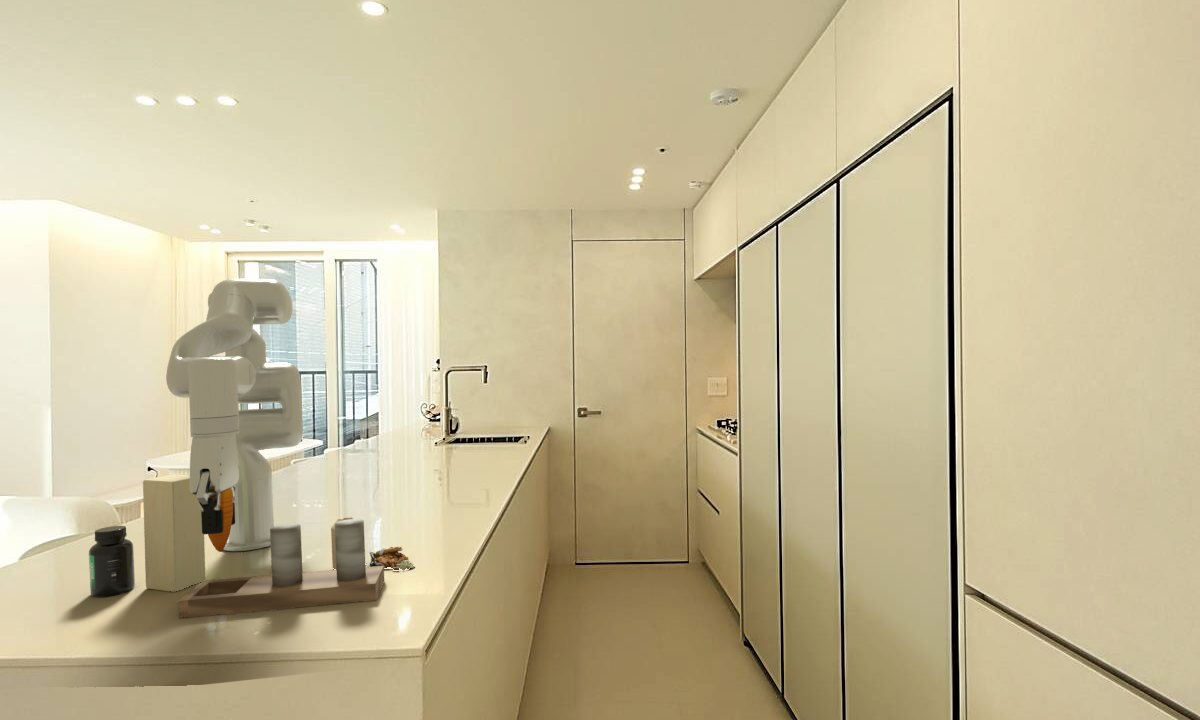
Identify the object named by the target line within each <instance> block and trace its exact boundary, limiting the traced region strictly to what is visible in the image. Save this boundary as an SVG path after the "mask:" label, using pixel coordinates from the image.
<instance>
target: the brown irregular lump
mask: <svg viewBox="0 0 1200 720" xmlns="http://www.w3.org/2000/svg"><path fill="white" fill-rule="evenodd" d="M402 551H403V546H395V547H393V546H390V547H389V548H385V547H382V548H381V549H380V550H377V551H376V552H373V551H369V554H370V555H369V556H370V557H371V559H370V563H369V564H371V565H372V563H374V564H375V566H384V568H387V567H391V568H393V569H394V570H399V568H400V569H402V570H405V569H406V568H407V569H409V568H411V569H413V568H415V567H414V566H413V565H415V564H413V563H412V562H410V560H409V557H408V556H406V555H405V554H404V553H402Z"/></svg>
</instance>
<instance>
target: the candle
mask: <svg viewBox="0 0 1200 720" xmlns="http://www.w3.org/2000/svg"><path fill="white" fill-rule="evenodd" d="M349 519H354V518H353V517H343V518H342V519H340V518H338V519H337V520H336V521H335V522H334V524H333V525H332V526H331V528H330V531H331V533H330V535H331V536H330V537H331V560H332V569H333V568H334V569H336V545H335V523H337V522H339V521H343V520H349Z"/></svg>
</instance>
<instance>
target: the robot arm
mask: <svg viewBox="0 0 1200 720" xmlns="http://www.w3.org/2000/svg"><path fill="white" fill-rule="evenodd" d="M207 307H208V310H207V315H206V320H205V321H204V322H202V323H200V324H197V325H196V326H194V327H193V328H192V329H190V330H188V331H187V332H186V333H184V334H183V335H181V336H180V337H179V338H178V339H177V340H176V341H175V343H174V345H173V346H172V349H171V352H170V355H169V360H168V363H167V366H166V367H167V368H166V377H165V378H166V379H165V380H166V386H167V388H168V390H169V392H170V393H171V394H172V395H174V396H176V397H178V398H181V399H182V398H185V399H186V398H188V400H189V401H188V402H189V426H190V429H189V430H190V431H189V432H190V438H191V445H190V453H189V454H190V456H189V475H190V492H191V493H192V494H193V495H196V494H197V495H196V497H197V499H198V501H199V503H200V511H201V518H202V533H203V534H204V535H208V534H216V533H221V532H223V511H222V509H221V510H220V501H221V492H223V491H225V490H226V489H228V488H231V489H232V491H233V517H232V524H231V530H230V535H229V538H228V541H227V543H226V545H225V547H224V549H223V550H224V551H227V552H245V551H251V550H259V549H263V548H266V547H267V548H268V547H271V542H270V528H272V527H274V526H275V520H274V499H273V498H274V497H273V496H274V495H273V471H272V466H271V464H270V462H269V461H268V460H267V459H266V458H265V456H263V454H261V453H260V452H259V451H261V450H262V451H263V450H272V449H281V448H282V449H284V448H285V449H286V448H292V447H297V446H298V445H299V444H300V443H301V442H302V440H303V434H304V419H303V415H304V414H303V395H302V381H301V380H302V379H301V375H300V372H299V369H298V368H297V366H296V365H294V364H293V363H290V362H289V363H288V362H267V356H266V355H267V351H266V342H265V340H264V338H263V337H262V336H261V335H260V334H259V332H258V331H256V330H255V329H254V327H253V326H254V325H284V324H286V323H288V322H289V321H290V320H291V318H292V315H293V300H292V298H291V294H290V292H289V291H288V289H287V287H286V286H285V285H284V283H282V282H280V281H278V280H276V279H271V278H270V279H269V278H261V279H260V278H230V279H225V280H221V281H220V282H218V283H216V284H215V286H214V287H213V289H212V292H211V293H210V294H209V295H208V297H207ZM223 353H224V354H225V356H217V355H219V354H223ZM272 403H273V404H275V403H277V404H280V406H281V407H276V408H275V407H274V408H256V409H254V408H253V409H241V410H240V409H239V407H240V406H239V404H242V405H247V404H248V405H251V404H252V405H253V404H272ZM209 489H214V491H216V492H208V490H209ZM209 496H215V502H214V500H213V498H212V497H209ZM223 550H222V551H223Z"/></svg>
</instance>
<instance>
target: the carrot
mask: <svg viewBox="0 0 1200 720" xmlns="http://www.w3.org/2000/svg"><path fill="white" fill-rule="evenodd" d="M208 492H216V491H214V489H209V490H208ZM209 497H212V498H213V500H214V502H215V496H209ZM221 509H222V511H223V532H221V533H216V534H207V535H208V538H209V540H210V543H211V544H212V545H213V547H214V549H215V550H216V551H217V552H218V553H221V552H223V549H224V547H225V545H226V543H227V541H228V538H229V535H230V530H231V524H232V517H233V491H232V489H231V488H228V489H226V490H225V491H223V492H221V501H220V510H221Z"/></svg>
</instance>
